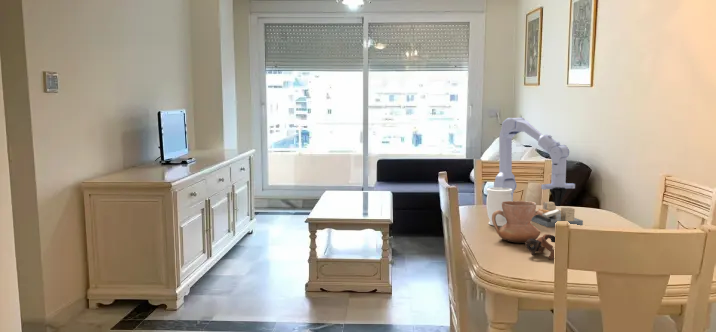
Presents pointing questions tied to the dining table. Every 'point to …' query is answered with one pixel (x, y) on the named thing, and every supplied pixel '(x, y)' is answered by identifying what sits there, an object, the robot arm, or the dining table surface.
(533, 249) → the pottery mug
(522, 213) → the ceramic jug
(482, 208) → the dining table surface
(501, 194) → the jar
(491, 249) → the dining table surface
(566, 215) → the panel
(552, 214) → the paddle white
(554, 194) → the robot arm
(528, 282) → the dining table surface
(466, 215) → the dining table surface
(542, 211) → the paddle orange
